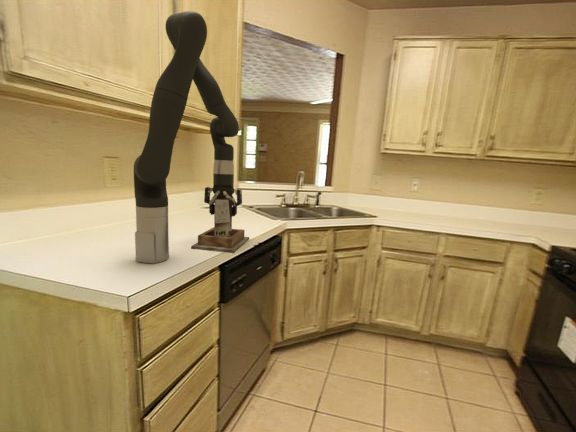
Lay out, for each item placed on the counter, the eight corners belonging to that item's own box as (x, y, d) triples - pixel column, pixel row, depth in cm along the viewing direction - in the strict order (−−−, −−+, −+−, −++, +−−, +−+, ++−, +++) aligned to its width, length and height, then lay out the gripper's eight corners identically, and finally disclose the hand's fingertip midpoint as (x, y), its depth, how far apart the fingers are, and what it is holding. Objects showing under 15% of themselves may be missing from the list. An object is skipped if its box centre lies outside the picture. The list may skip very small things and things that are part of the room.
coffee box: (232, 242, 115) (232, 199, 113) (214, 242, 114) (214, 199, 111) (230, 236, 124) (231, 196, 121) (214, 236, 123) (214, 196, 120)
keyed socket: (249, 239, 128) (249, 228, 127) (233, 253, 109) (234, 240, 108) (212, 235, 130) (212, 225, 130) (191, 248, 111) (191, 236, 110)
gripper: (245, 173, 117) (243, 215, 120) (209, 171, 119) (209, 212, 122) (238, 174, 110) (237, 218, 113) (201, 171, 112) (201, 215, 115)
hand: (222, 215), depth 118 cm, fingers closed on coffee box, 8 cm apart
